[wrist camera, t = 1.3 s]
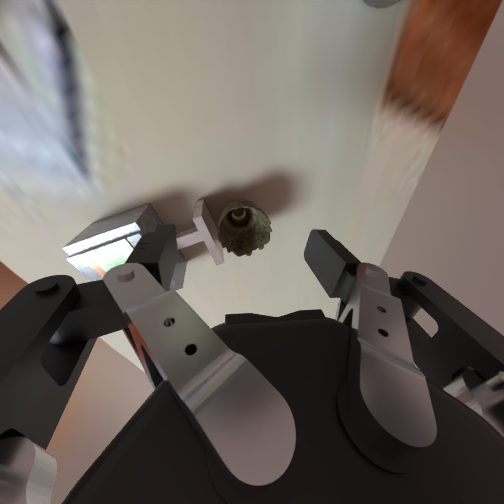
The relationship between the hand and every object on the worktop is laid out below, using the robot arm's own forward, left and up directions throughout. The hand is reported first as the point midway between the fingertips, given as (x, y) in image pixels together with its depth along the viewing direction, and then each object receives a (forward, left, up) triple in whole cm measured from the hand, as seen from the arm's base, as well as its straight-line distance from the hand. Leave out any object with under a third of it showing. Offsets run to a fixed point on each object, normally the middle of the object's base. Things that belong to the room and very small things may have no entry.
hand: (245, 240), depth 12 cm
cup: (0, +7, -21) cm, 22 cm away
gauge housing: (+17, +7, -21) cm, 28 cm away
